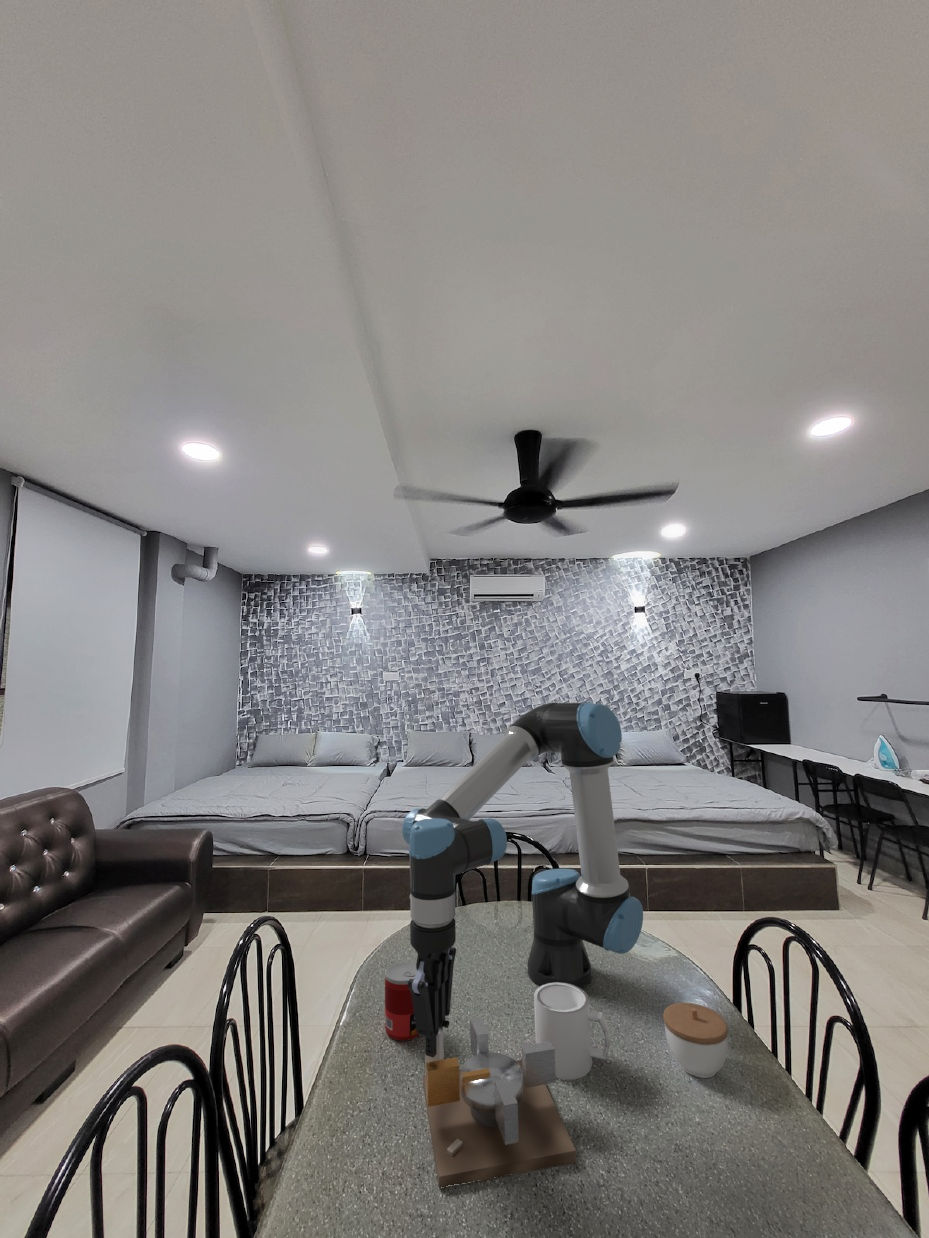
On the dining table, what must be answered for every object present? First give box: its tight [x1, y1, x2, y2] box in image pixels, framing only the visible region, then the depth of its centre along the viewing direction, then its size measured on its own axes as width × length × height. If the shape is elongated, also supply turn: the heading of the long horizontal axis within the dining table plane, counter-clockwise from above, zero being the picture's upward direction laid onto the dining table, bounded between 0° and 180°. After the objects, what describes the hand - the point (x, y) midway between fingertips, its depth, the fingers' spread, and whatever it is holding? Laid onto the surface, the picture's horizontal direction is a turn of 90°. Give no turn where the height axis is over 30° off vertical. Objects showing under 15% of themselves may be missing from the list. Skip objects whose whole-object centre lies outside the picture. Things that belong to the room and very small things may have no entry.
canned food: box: [384, 961, 420, 1042], centre depth 109 cm, size 8×8×11 cm
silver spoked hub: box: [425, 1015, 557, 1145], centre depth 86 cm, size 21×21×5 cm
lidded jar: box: [663, 1002, 729, 1079], centre depth 97 cm, size 11×11×9 cm
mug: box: [533, 982, 611, 1081], centre depth 98 cm, size 14×10×11 cm
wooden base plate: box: [422, 1059, 577, 1189], centre depth 85 cm, size 20×20×4 cm
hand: (434, 1072), depth 86 cm, fingers closed
